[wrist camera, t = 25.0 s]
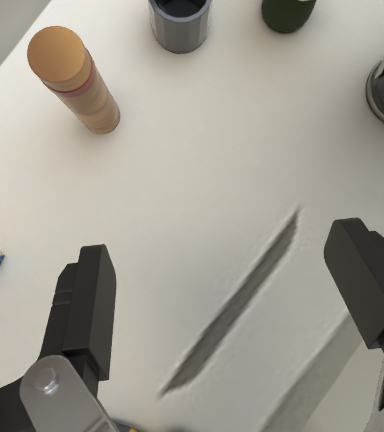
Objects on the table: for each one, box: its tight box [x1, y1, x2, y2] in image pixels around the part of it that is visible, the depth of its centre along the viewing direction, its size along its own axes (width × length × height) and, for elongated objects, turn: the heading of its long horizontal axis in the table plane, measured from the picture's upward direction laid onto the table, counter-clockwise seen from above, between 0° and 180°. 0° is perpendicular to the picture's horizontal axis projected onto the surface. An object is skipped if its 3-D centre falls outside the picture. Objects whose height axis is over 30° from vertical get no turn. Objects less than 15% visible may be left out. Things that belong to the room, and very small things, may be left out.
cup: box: [148, 0, 213, 53], centre depth 39 cm, size 7×7×6 cm
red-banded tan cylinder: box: [27, 26, 120, 134], centre depth 34 cm, size 5×5×15 cm
